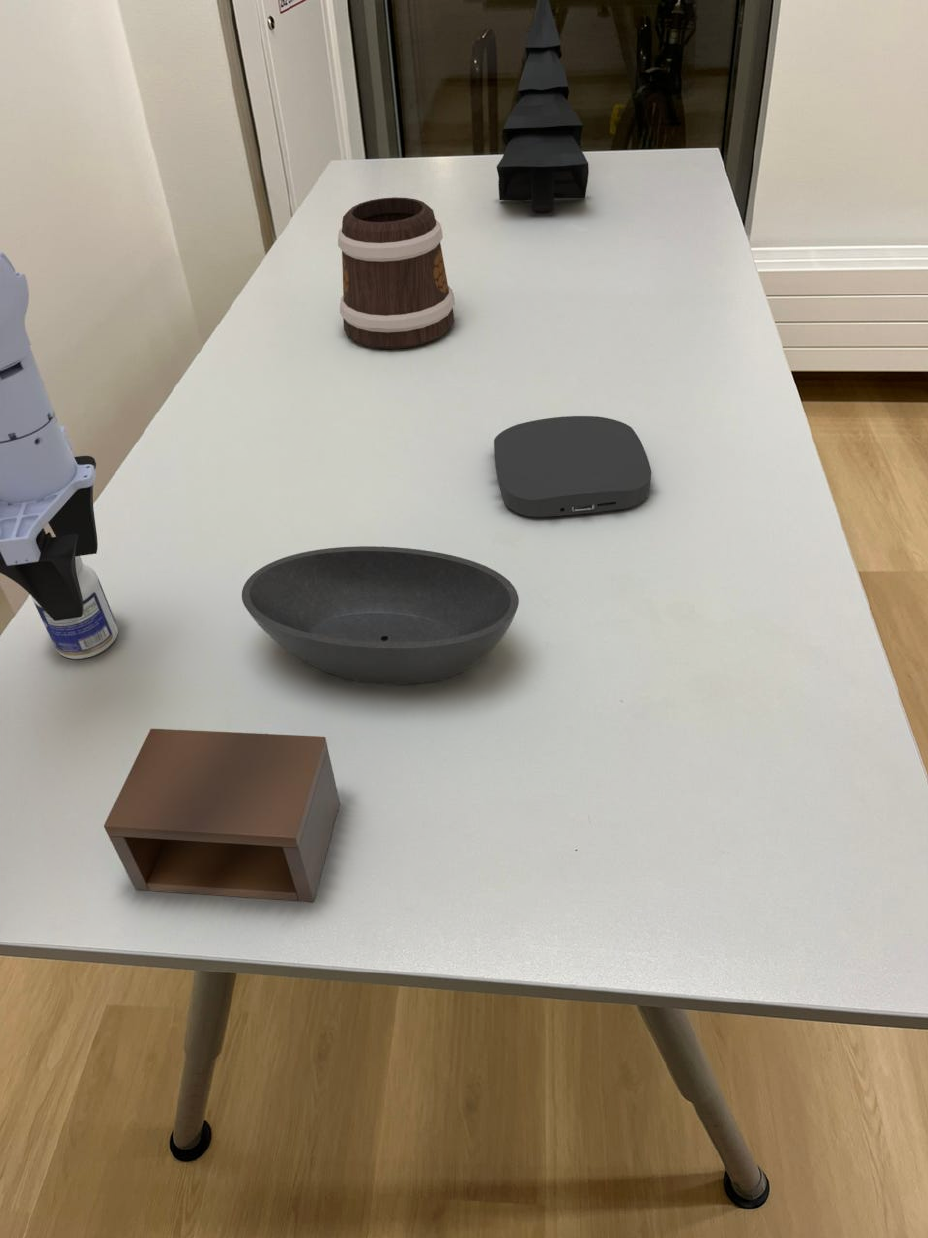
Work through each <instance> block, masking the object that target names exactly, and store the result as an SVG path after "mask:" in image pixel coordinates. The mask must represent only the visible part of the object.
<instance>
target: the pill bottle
mask: <svg viewBox="0 0 928 1238" xmlns="http://www.w3.org/2000/svg"><path fill="white" fill-rule="evenodd" d="M75 564H76V572H77V577H78V581H79V585H80V589H81V593H82V598H83V615H82V617H79V618H72V619H65V620H58V621H54V620H53V619H52V618H51V617H50V616H49V615H48V614H47V613H46V612H45V610H44V609H43V608H42V607H41V606H40V605H39V604H38V602H37V601H36V600H35V599H34V598H33V597H32V596H31V595H30V596H31V600H32V602H33V604H34V606H35V608H36V610H37V612H38V614H39V616H40V619H41V621H42V623H43V625H44V628H45V629H46V631H47V633H48V635H49V638H50V640H51V642H52V644H53V646H54V648H55V650H56V652H57V653H59V654H60V655H61V656H63V657H65V658H68V659H74V660H82V659H88V658H91V657H94V656H97V655H99V654H100V653H102V652H104V651H106V650H107V649H108V648H110V646H111V645H112V644H113V643H114V642H115V641H116V639H117V637H118V633H119V627H118V624H117V622H116V618H115V616H114V614H113V610H112V609H111V607H110V604H109V601H108V599H107V596H106V594H105V591H104V589H103V586H102V584H101V582H100V578H99V577H98V575H97V572H96V571H95V570H94V569H93V568H92V567H90V566H89V565H87V564H85V563H84V562H83V559H82V557H81V556H76V557H75Z"/></svg>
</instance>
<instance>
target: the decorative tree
mask: <svg viewBox="0 0 928 1238" xmlns="http://www.w3.org/2000/svg"><path fill="white" fill-rule="evenodd" d="M561 45H562V44H561V40H560V37H559V32H558V27H557V25H556V22H555V18H554V15H553V11H552V6H551V3H550V0H537V1H536V7H535V11H534V15H533V20H532V23H531V24H530V27H529V29H528V32H527V36H526V40H525V45H524V49H525V57H524V58H525V59H524V68H523V71H522V74H521V78H520V81H519V83H518V84H519V85H518V88H517V92H516V100H515V101H516V104H515V105H514V108H513V109H512V111H511V112H510V113H509V115H508V117H507V119H506V122H505V123H504V126H503V128H502V134H501V139H502V142H503V143H504V145H505V146H504V150H503V155H502V157H501V159H500V161H499V162H498V164H496V171H497V176H498V181H497V182H498V184H497V185H498V186H497V187H498V200H499V201H514V202H525V201H531V203H530V211H531V212H532V213H535V214H548V213H551V212H553V211H554V208H555V206H554V205H555V203H554V201H555V199H557V200H558V199H586V194H587V187H588V184H589V183H588V181H589V175H590V174H589V173H590V172H589V167H590V166H589V161H588V160H587V158H586V156H585V154H584V153H583V150H582V143H581V142H582V141H581V140H582V132H583V129H584V124H583V122H582V120H581V118H580V117H579V116H578V114H577V113H576V112H575V110H574V109H573V107H572V106H571V104H570V102H569V101H568V98H569V94H570V89H569V84H568V83H569V82H568V78H567V73H566V72H565V68H564V67H563V64H562V62H561V58H562V56H563V53H562V49H561Z"/></svg>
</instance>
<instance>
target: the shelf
mask: <svg viewBox="0 0 928 1238" xmlns="http://www.w3.org/2000/svg"><path fill="white" fill-rule="evenodd" d="M340 803H341V801H340V797H339V792H338V788H337V784H336V779H335V774H334V769H333V766H332V762H331V757H330V752H329V748H328V742H327V739H326V736H318V735H317V736H316V735H298V734H297V735H293V734H276V733H275V734H273V733H254V732H253V733H252V732H249V733H248V732H231V731H213V730H212V731H210V730H209V731H208V730H192V729H191V730H190V729H169V728H168V729H167V728H150V729H149V731H148V732H147V735H146V738H145V740H144V741H143V743H142V746H141V748H140V750H139V752H138V754H137V756H136V758H135V760H134V762H133V764H132V767H131V768H130V770H129V772H128V775H127V777H126V779H125V781H124V783H123V785H122V786H121V789H120V791H119V793H118V796H117V797H116V800H115V801H114V803H113V806H112V808H111V810H110V812H109V813H108V816H107V818H106V820H105V822H104V825H103V828H104V831H105V832H106V834H107V836H108V838H109V840H110V842H111V844H112V846H113V848H114V850H115V852H116V855H117V856H118V858H119V860H120V862H121V864H122V866H123V868H124V870H125V872H126V874H127V876H128V878H129V881H130V882H131V884H132V886H133V889H134V890H136V891H147V892H149V891H151V892H166V893H181V894H195V895H208V896H209V895H210V896H222V897H223V896H225V897H238V898H253V899H265V900H266V899H267V900H282V901H283V900H284V901H294V902H295V901H296V902H298V901H299V902H308V903H309V902H311V903H314V901H315V899H316V895H317V891H318V888H319V883H320V879H321V877H322V872H323V869H324V868H323V867H324V865H325V860H326V856H327V853H328V850H329V849H328V848H329V845H330V841H331V838H332V834H333V830H334V826H335V823H336V819H337V815H338V811H339V807H340Z"/></svg>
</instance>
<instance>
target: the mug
mask: <svg viewBox="0 0 928 1238" xmlns="http://www.w3.org/2000/svg"><path fill="white" fill-rule="evenodd" d="M341 222H342V224H341V228H340V229H339V230H338V236H337V237H338V238H337V247H338V248H339V249H340V250H341V262H342V264H341V265H342V293H343V295H342V296H341V297H340V303H339V314H340V315H341V317H342V318H343V319H342V320H343V331H344V332H345V333H346V335H347V337H349V338H350V339H351V340H353V341H354V342H357V343H358V344H360V345H362V346H366V347H369V348H372V349H380V350H381V349H382V350H398V349H399V350H401V349H409V348H410V349H411V348H414V347H420V346H423V345H426V344H428V343H431V342H434V341H437V340H438V339H439V338H441V337H442V336H443V335H445V334H447V332H448V331H449V330H450V329H451V328H452V326H453V325H454V323H455V316H454V315H455V313H454V306H455V305H456V302H455V295H454V292H453V289H452V288H451V287H450V286H449V284H448V278H447V273H446V267H445V262H444V255H443V250H442V244H441V241H442V240H443V236H444V235H443V230H442V226H441V222H440V221H438V220H437V219H436V215H435V212H434V209H433V208H431V206H429V205H428V204H427V203H425V202H424V201H423V200H422V201H421V200H419V199H416V198H410V197H396V196H395V197H394V196H393V197H382V198H381V197H380V198H376V199H375V198H374V199H370V200H366V201H363V202H360V203H357V204H356V205H354V206H352V207H351V208H350V209H348V211H347V212H346V213H345V214H344V215H343V216H342V221H341Z"/></svg>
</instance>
